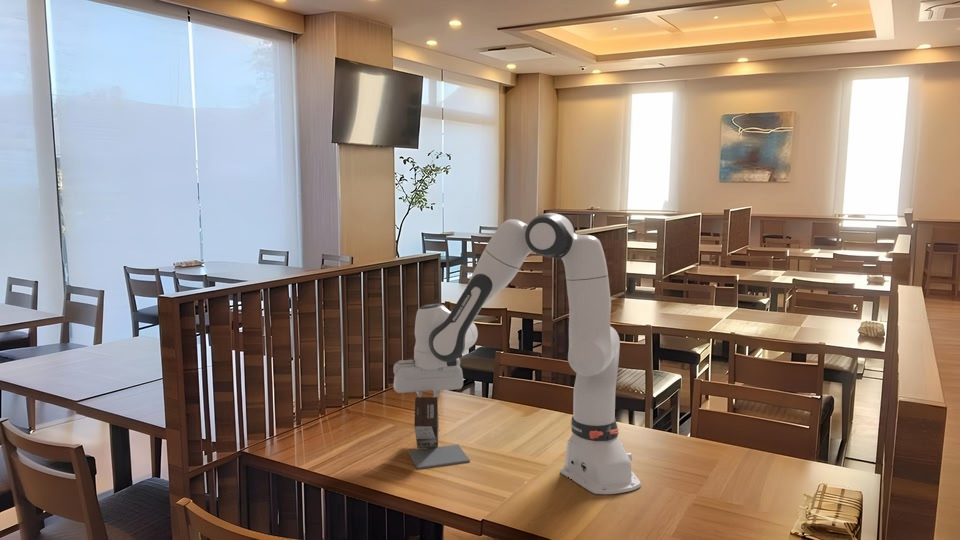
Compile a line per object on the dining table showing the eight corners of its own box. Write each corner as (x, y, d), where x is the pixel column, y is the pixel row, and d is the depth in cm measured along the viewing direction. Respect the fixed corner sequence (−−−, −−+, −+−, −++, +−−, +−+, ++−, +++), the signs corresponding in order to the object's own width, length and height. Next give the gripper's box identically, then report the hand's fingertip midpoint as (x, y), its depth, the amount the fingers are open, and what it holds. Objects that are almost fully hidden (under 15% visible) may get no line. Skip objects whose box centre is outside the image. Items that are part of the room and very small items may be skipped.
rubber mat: (469, 462, 188) (469, 460, 188) (417, 469, 184) (417, 467, 184) (458, 446, 200) (458, 444, 200) (408, 452, 195) (408, 450, 195)
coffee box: (438, 448, 198) (437, 427, 185) (416, 448, 198) (413, 427, 185) (439, 419, 204) (437, 396, 190) (417, 419, 203) (415, 396, 190)
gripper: (395, 363, 189) (394, 411, 191) (465, 360, 195) (463, 406, 197) (391, 357, 195) (390, 403, 197) (459, 354, 201) (458, 399, 203)
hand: (427, 404), depth 197 cm, fingers closed
